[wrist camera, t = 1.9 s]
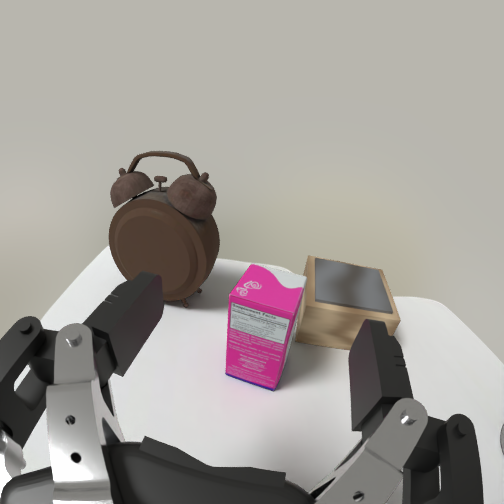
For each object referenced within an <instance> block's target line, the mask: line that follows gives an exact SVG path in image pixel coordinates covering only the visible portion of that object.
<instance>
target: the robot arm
mask: <svg viewBox="0 0 504 504" xmlns="http://www.w3.org/2000/svg"><path fill="white" fill-rule="evenodd" d="M163 310H164V301H163V289H162V278H161V276H160V275H158V274H154V273H150V272H146V271H141V272H140V273H139V274H138V275H137V276H136V277H135V278H134V279H133V281H132V280H128V281H126V282H124V283H122V284H120V285H118V286H117V287H116V288H115V289H114V290H113V291H112V292H111V295H108V297H107V298H106V299H105V301H103V302H102V303H101V304H100V305H99V306H98V307H97V308H96V309H95V310H94V311H93V313H92V314H91V315H90V316H89V317H88V318H87V319H86V320H85V321H84V322H83V323H82V324H79V323H74V324H70V325H67V326H65V327H63V328H62V329H61V330H60V331H53V330H47V329H43V327H42V325H41V322H40V321H39V320H38V319H37V318H36V317H32V316H28V317H24V318H22V319H20V320H18V321H17V322H16V323H15V324H14V325H13V326H12V327H11V328H10V329H9V331H8V332H7V333H6V334H5V335H4V336H3V337H2V338H1V340H0V504H385V503H386V501H387V500H388V499H389V497H390V496H391V495H392V493H393V492H394V490H395V489H396V487H397V486H398V484H399V483H400V481H401V480H402V478H403V500H402V504H484V500H483V484H482V473H481V465H480V457H479V451H478V445H477V439H476V434H475V429H474V425H473V423H472V422H471V420H470V419H469V418H468V417H466V416H465V415H463V414H455V415H453V416H451V417H450V418H449V419H448V420H447V421H443V420H440V419H437V418H433V417H430V416H428V415H427V411H426V409H425V408H424V406H423V405H422V404H421V403H420V402H418V401H417V400H414V398H413V394H412V389H411V385H410V380H409V376H408V372H407V368H406V367H405V366H406V364H405V360H404V359H403V357H404V356H403V353H402V349H401V346H400V344H399V343H398V341H397V340H396V339H395V337H394V336H390V335H388V331H387V327H386V324H385V322H384V321H378V320H372V319H365V320H364V322H363V324H362V326H361V328H360V330H359V332H358V334H357V336H356V338H355V340H354V342H353V344H352V346H351V349H350V352H349V375H350V392H351V418H352V431H362V438H361V439H360V440H359V441H358V443H357V444H356V445H355V446H354V447H353V449H352V450H351V451H350V452H349V453H348V454H347V455H346V457H345V458H344V459H343V460H342V461H341V462H340V463H339V464H338V465H337V466H336V467H335V469H334V470H333V471H332V472H331V473H330V474H329V475H328V476H326V477H325V478H324V479H323V480H322V481H321V482H320V483H318V484H317V485H316V486H315V487H314V488H313V489H312V490H311V491H310V492H306V491H305V490H304V489H302V488H301V487H299V486H298V485H296V484H294V483H292V482H290V481H287V480H285V476H286V473H285V472H277V471H270V470H264V469H258V468H253V467H212V466H209V465H206V464H205V463H203V462H201V461H199V460H197V459H195V458H194V457H192V456H190V455H188V454H187V453H185V452H183V451H182V450H180V449H178V448H176V447H173V446H170V445H167V444H165V443H162V442H159V441H157V440H154V439H152V438H149V437H147V436H145V437H144V439H143V441H142V443H141V442H125V439H124V436H123V433H122V431H121V428H120V426H119V423H118V419H117V414H116V410H115V405H114V399H113V394H112V388H111V382H110V379H109V378H110V377H111V375H112V374H113V373H115V374H118V375H120V376H122V377H123V376H124V374H125V373H126V371H127V370H128V368H129V367H130V365H131V363H132V362H133V360H134V359H135V357H136V356H137V354H138V353H139V351H140V349H141V348H142V346H143V345H144V343H145V342H146V340H147V339H148V337H149V336H150V334H151V333H152V331H153V330H154V328H155V327H156V325H157V324H158V322H159V321H160V319H161V317H162V314H163ZM27 364H28V365H29V367H30V368H31V370H30V371H29V372H28V374H27V375H26V376H25V378H24V379H23V381H22V382H21V384H20V385H19V386H18V388H17V389H16V391H14V383H15V381H16V379H17V378H18V376H19V375H20V374H21V372H22V371H23V370H24V368H25V367H26V366H27ZM45 409H47V429H48V441H49V450H50V458H51V465H52V466H50V467H47V468H43V469H40V470H37V471H33V472H30V473H26V474H22V475H21V469H24V468H25V467H26V461H25V459H24V458H23V451H22V449H23V447H24V445H25V443H26V442H27V440H28V438H29V436H30V434H31V433H32V431H33V429H34V427H35V426H36V424H37V422H38V421H39V419H40V417H41V415H42V414H43V412H44V410H45ZM501 445H502V450H503V453H504V425H503V428H502V431H501ZM439 466H440V471H441V490H440V485H439ZM402 468H403V472H402V471H401V469H402Z"/></svg>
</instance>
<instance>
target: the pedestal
mask: <svg viewBox="0 0 504 504" xmlns="http://www.w3.org/2000/svg"><path fill="white" fill-rule="evenodd" d="M303 276H306V277H307V281H306V285H305V290H304V294H303V298H302V302H301V306H300V310H299V314H298V318H297V329H296V339H295V342H300V343H306V344H312V345H318V346H325V347H331V348H338V349H346V350H350V349H351V346H352V344H353V342H354V340H355V338H356V336H357V334H358V332H359V330H360V328H361V326H362V324H363V322H364V320H365V319H372V320H378V321H384V322H385V324H386V327H387V331H388V335H390V336H392V335H393V334H394V332H395V330H396V328H397V326H398V324H399V323H400V321H401V320H400V317H399V314H398V311H397V309H396V306H395V303H394V300H393V297H392V295H391V292H390V289H389V287H388V284H387V281H386V279H385V276H384V274H383V271H382V270H381V269H376V268H370V267H365V266H360V265H354V264H350V263H345V262H340V261H334V260H329V259H324V258H319V257H313V256H308V258H307V262H306V267H305V270H304V275H303Z"/></svg>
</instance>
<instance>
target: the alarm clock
mask: <svg viewBox="0 0 504 504" xmlns="http://www.w3.org/2000/svg"><path fill="white" fill-rule="evenodd" d="M148 156H160V157H170V158H174V159H177V160H180V161H182V162H184V163H185V164H186V165H187V166H188V168H189V170H190V172H191V174H187V175H182V176H180V177H179V178H178V179H176V180H175V181H174V182H173V183H172V184H171V186H170V187H161V182H166V181H167V177H163V176H155V177H154V180H155V181H156V182H159V188H156V189H153V190H150V191H147V192H144V193H142V192H143V191H145V190H147V189H149V188H151V187H153V186H154V185H153V183H152V181H151V180H150V178H149V177H148V176H147V175H146V174H144V173H142V172H138V171H134V169H135V168H136V166H137V164H138V162H139V161H140V159H142V158H144V157H148ZM133 171H134V172H133ZM119 174H120V177H119V178H118V179H117V181H116V182H115V183H114V184H113V186H112V188H111V192H110V195H111V201H112V204H113V206H114V208H115V207H117V206H119V205H120V204H122V203H124V202H126V201H127V200H129V199H131V198H133V199H131V200H130V201H129V202H128V203H126V204H125V205H123V206H122V207H121V208H120V209H119V210H118V211H117V212H116V214H115V215H114V217H113V219H112V222H111V224H110V229H109V245H110V250H111V254H112V257H113V259H114V261H115V264H116V265H117V267H118V269H119V270H120V272H121V273H122V275H123V276H124V277H125V278H126V279H127V280H132V281H133V279H134V278H135V277H136V276H137V275H138V274H139V273H140V272H141V271H146V272H150V273H154V274H158V275H160V276H161V278H162V289H163V300H166V301H175V300H182V302H183V303H184V307H188V303H186V300H185V298H187V297H189V296H190V295H192V294H193V293H194V292H196V291H197V292H198V293H201V292H202V290H201V289H200V288H199V287H200V286H201V284H202V283H203V282H204V281H205V280H206V279H207V277H208V276H209V274H210V272H211V270H212V268H213V266H214V263H215V261H216V258H217V255H218V252H219V245H220V239H219V232H218V228H217V225H216V222H215V220H214V218H213V216H212V215H211V214H212V212H213V210H214V208H215V205H216V199H217V196H216V193H215V190H214V188H213V186H212V185H211V184H210V183H209V182H208V181H207V180H208V178H209V177H208V176H209V174H208V173H206V172H205V173H203V174H202V175H201V176H200V175H199V173H198V170H197V169H196V167H195V165H194V163H193V162H192V160H191V159H190V158H189V157H187V156H184V155H181V154H179V153H174V152H167V151H150V152H146V153H143V154H139V155H137V156H136V157H135V158H134V159H133V161H132V163H131V165H130V167H129V169H128V171H127V173H126V171H125V169H123V168H120V169H119ZM140 193H142V194H140ZM138 194H140V195H138ZM137 195H138V196H137Z"/></svg>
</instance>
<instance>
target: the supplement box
mask: <svg viewBox="0 0 504 504" xmlns="http://www.w3.org/2000/svg"><path fill="white" fill-rule="evenodd" d="M306 281H307V277H306V276H302V275H297V274H293V273H289V272H285V271H281V270H277V269H273V268H269V267H266V266H262V265H258V264H254V263H252V264H251V265H250V266H249V268H248V269H247V271H246V272H245V273H244V275H243V276H242V278H241V279H240V280H239V282H238V283H237V284H236V286H235V287H234V289H233V290H232V291H231V293H230V294H229V308H228V329H227V350H226V373H225V374H226V375H228V376H231V377H233V378H236V379H239V380H242V381H245V382H248V383H251V384H254V385H257V386H260V387H263V388H265V389H268V390H271V391H275V389H276V387H277V385H278V382H279V380H280V377H281V374H282V372H283V369H284V366H285V363H286V360H287V357H288V352H289V349H290V345H291V341H292V337H293V334H294V330H295V326H296V322H297V318H298V314H299V310H300V306H301V302H302V298H303V294H304V290H305V285H306Z"/></svg>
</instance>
